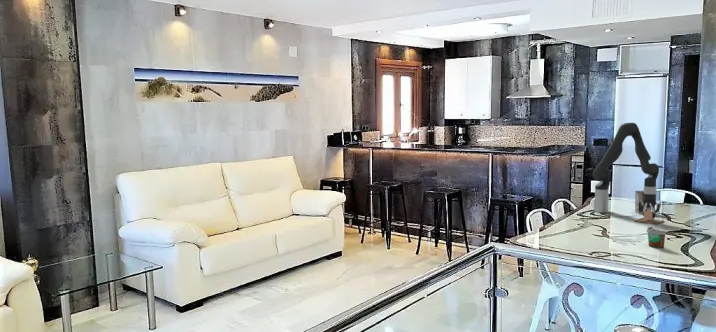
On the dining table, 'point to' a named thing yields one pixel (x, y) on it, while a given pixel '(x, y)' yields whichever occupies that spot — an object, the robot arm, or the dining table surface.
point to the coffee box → (639, 198)
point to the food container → (656, 237)
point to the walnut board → (649, 221)
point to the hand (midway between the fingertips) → (649, 217)
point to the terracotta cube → (648, 215)
